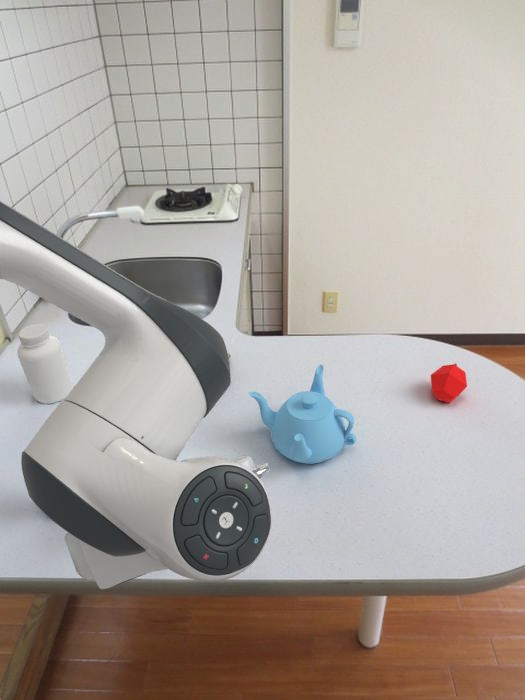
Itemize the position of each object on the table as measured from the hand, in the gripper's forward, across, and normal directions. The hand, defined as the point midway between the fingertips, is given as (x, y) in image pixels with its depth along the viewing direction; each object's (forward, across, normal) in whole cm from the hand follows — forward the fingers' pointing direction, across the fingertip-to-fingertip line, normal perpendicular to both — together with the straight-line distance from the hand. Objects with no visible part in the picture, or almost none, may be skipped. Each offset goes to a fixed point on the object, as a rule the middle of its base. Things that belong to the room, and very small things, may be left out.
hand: (157, 507), depth 61 cm
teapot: (+23, -30, +2) cm, 38 cm away
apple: (+20, -61, +6) cm, 64 cm away
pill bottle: (+50, +4, -26) cm, 57 cm away
